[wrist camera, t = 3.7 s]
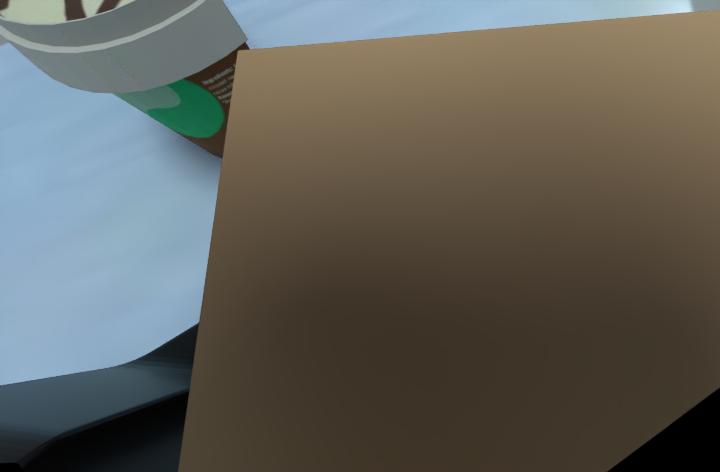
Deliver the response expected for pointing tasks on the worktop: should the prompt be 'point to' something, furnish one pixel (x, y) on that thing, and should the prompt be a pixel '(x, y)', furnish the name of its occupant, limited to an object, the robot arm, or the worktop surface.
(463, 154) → the walnut post
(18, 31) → the food container
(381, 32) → the worktop surface
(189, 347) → the robot arm
